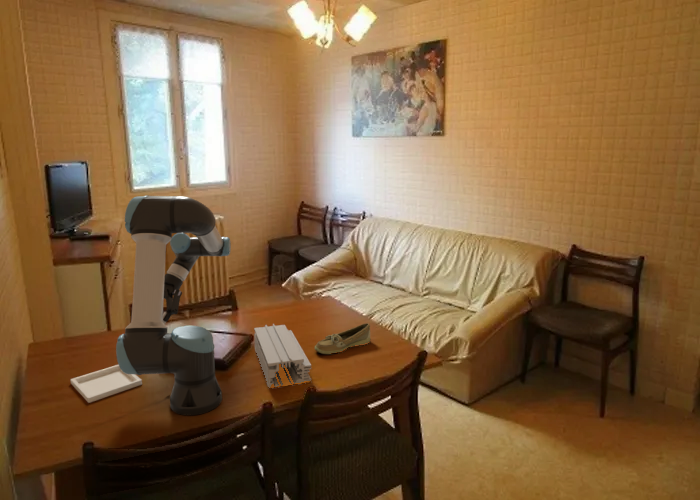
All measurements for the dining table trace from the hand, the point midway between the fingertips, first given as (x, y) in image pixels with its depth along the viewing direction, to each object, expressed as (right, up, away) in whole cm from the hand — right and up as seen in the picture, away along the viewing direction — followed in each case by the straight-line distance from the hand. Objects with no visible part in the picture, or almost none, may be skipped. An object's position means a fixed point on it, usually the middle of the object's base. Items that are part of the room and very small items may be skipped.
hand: (146, 325), depth 183 cm
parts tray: (0, -15, -29) cm, 32 cm away
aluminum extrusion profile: (+53, -13, -11) cm, 56 cm away
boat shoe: (+75, -10, +5) cm, 76 cm away
